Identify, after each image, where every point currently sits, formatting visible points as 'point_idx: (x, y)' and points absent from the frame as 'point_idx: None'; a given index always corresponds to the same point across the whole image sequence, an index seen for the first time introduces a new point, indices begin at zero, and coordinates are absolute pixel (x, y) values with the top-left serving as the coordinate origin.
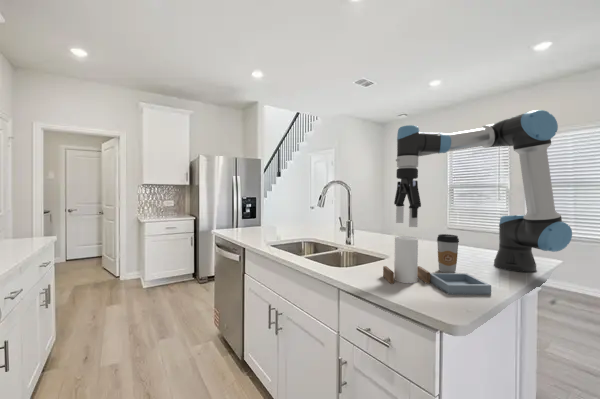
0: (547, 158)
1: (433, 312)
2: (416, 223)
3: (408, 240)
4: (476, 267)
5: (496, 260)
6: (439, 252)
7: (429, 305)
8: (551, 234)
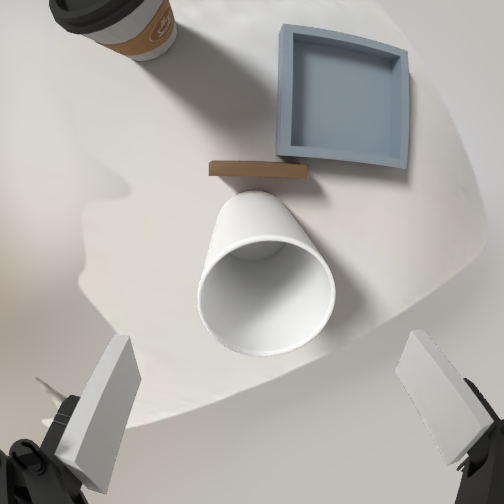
0: None
1: (456, 257)
2: (432, 349)
3: (331, 309)
4: None
5: None
6: (126, 43)
7: (434, 250)
8: None
